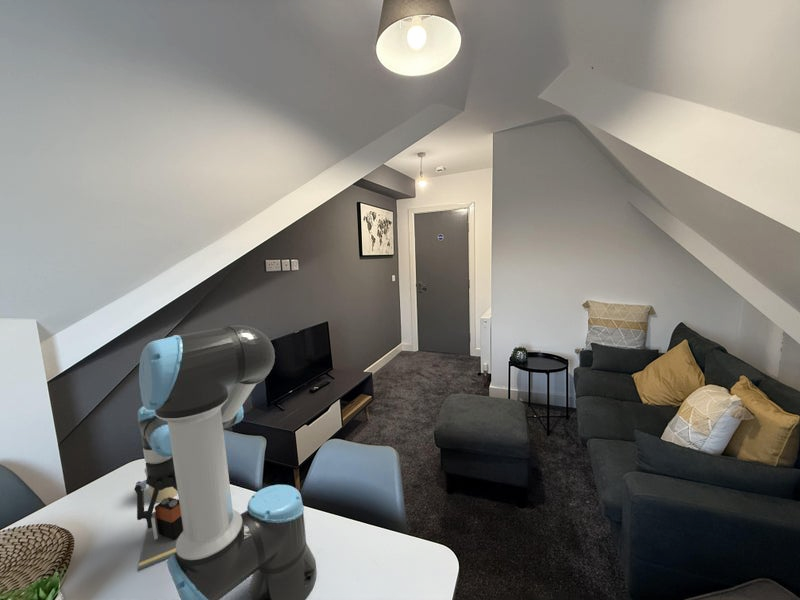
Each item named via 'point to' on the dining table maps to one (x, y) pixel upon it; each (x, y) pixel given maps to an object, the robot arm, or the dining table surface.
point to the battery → (169, 518)
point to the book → (156, 550)
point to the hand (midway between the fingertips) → (173, 529)
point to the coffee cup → (163, 492)
